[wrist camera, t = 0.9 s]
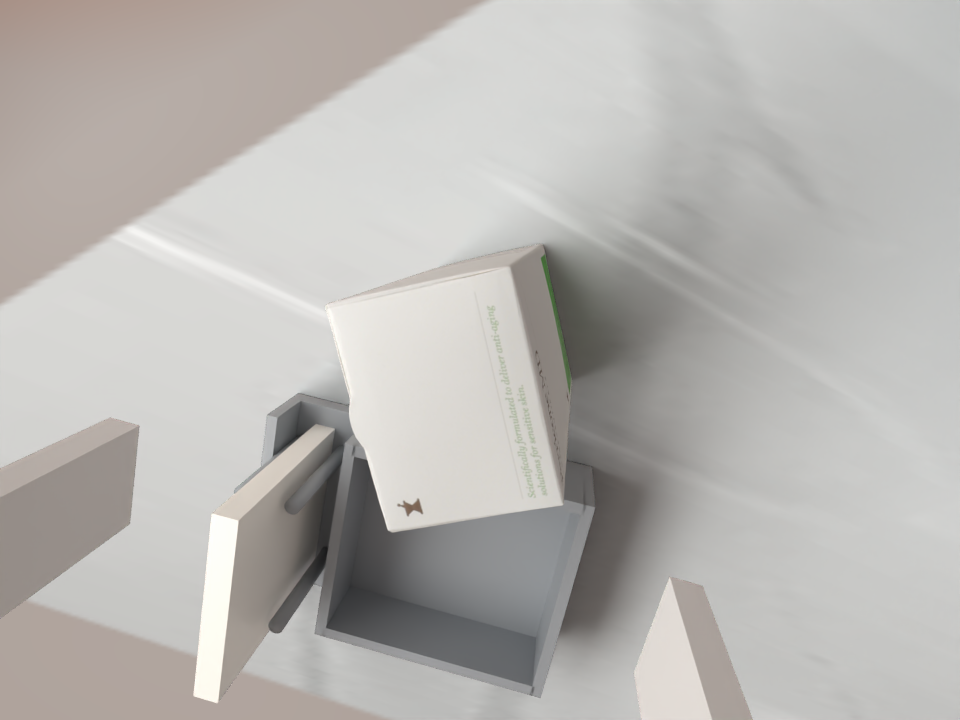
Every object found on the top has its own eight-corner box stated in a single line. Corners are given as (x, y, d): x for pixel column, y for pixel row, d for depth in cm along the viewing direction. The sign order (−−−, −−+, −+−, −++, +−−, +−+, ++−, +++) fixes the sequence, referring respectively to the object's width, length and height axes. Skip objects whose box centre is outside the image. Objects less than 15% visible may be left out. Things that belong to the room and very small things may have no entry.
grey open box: (591, 466, 36) (602, 592, 24) (544, 637, 39) (533, 819, 27) (298, 393, 37) (176, 477, 26) (275, 563, 40) (157, 706, 29)
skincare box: (573, 383, 35) (576, 519, 20) (460, 403, 36) (383, 546, 21) (543, 235, 33) (521, 260, 18) (425, 262, 34) (313, 307, 19)
